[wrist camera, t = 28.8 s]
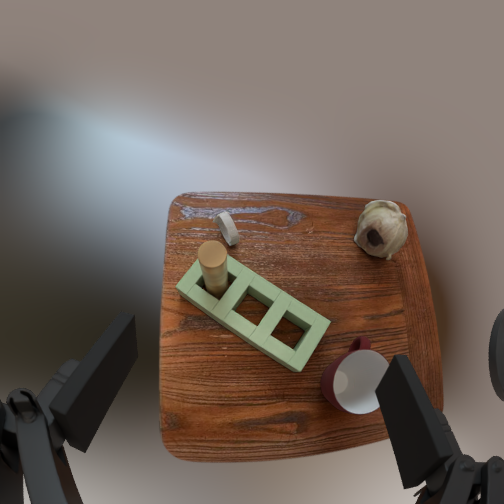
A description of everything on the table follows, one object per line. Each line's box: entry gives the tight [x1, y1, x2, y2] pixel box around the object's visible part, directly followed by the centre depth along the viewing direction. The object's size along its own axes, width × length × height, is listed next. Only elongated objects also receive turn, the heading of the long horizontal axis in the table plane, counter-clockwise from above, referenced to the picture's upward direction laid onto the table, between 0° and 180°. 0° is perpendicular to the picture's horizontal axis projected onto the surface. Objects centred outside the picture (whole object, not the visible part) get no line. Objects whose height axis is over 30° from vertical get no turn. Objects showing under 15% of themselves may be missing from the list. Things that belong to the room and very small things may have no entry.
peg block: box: [175, 255, 331, 372], centre depth 40 cm, size 20×8×4 cm, turn 56°
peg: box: [198, 241, 228, 299], centre depth 37 cm, size 3×3×13 cm
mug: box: [320, 336, 389, 415], centre depth 34 cm, size 10×8×10 cm
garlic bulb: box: [354, 200, 408, 260], centre depth 44 cm, size 9×8×10 cm
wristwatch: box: [213, 212, 239, 246], centre depth 45 cm, size 3×5×5 cm, turn 28°
